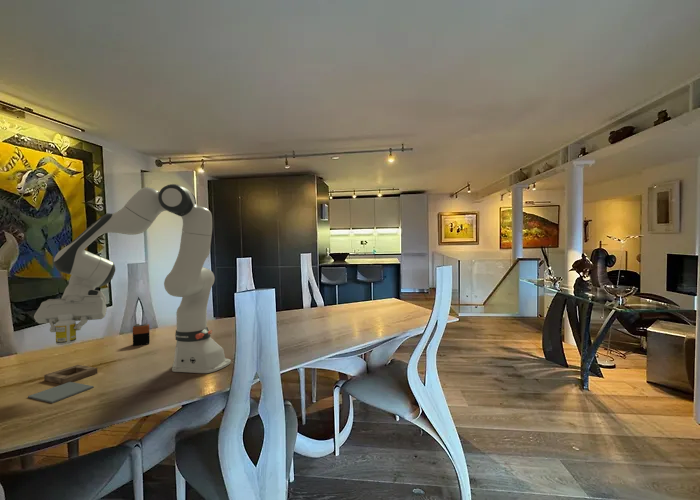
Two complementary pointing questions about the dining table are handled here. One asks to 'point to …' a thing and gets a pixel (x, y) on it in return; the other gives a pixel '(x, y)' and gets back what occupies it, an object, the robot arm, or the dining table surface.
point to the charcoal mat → (60, 392)
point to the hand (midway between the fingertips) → (65, 330)
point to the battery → (141, 334)
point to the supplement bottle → (65, 329)
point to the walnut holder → (78, 370)
